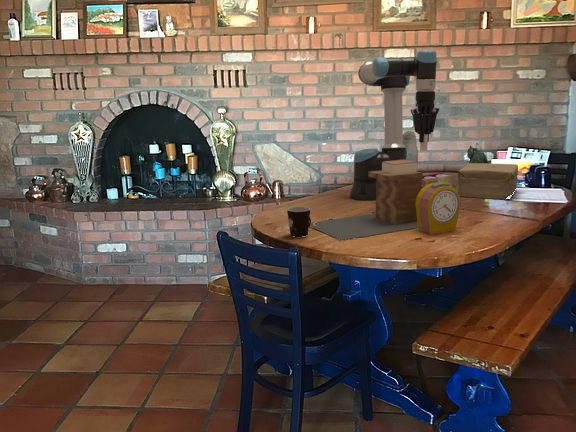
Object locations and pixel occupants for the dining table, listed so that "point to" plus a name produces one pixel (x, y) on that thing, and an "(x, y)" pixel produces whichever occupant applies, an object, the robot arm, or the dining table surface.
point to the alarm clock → (437, 208)
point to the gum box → (437, 179)
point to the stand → (397, 196)
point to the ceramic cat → (476, 155)
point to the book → (399, 166)
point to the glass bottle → (411, 145)
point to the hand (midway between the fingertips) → (423, 150)
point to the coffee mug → (299, 221)
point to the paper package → (487, 180)
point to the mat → (360, 226)
